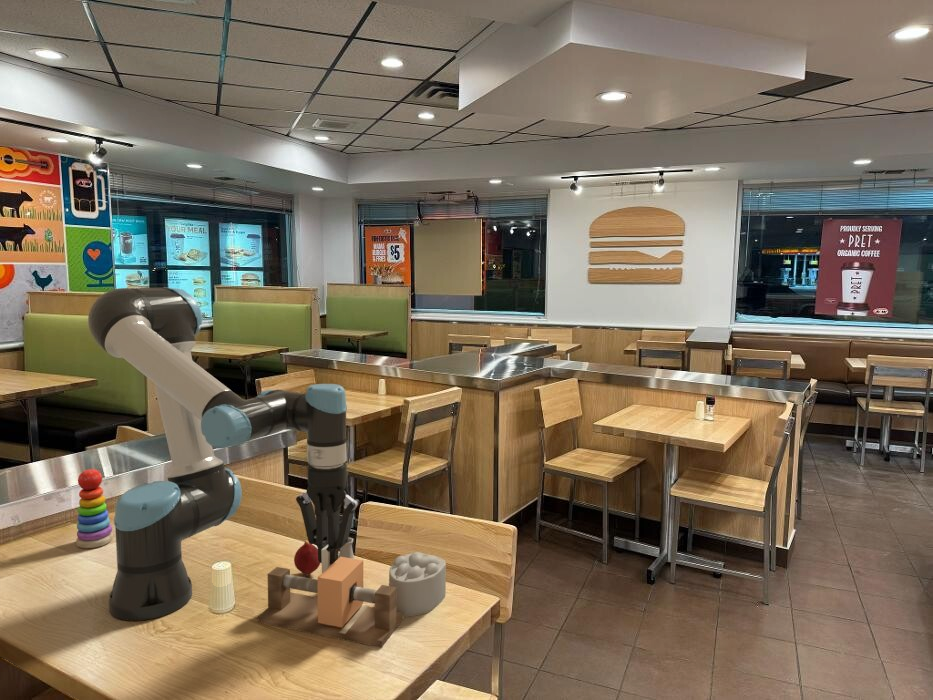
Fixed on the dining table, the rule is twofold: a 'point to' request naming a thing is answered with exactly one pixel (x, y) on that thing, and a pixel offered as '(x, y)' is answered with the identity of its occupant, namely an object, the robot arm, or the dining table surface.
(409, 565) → the lumpy-topped squat cylinder
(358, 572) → the collar
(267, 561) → the dining table surface
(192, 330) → the robot arm
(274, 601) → the pipe stand
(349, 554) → the flask
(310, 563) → the onion
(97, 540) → the stacking toy
